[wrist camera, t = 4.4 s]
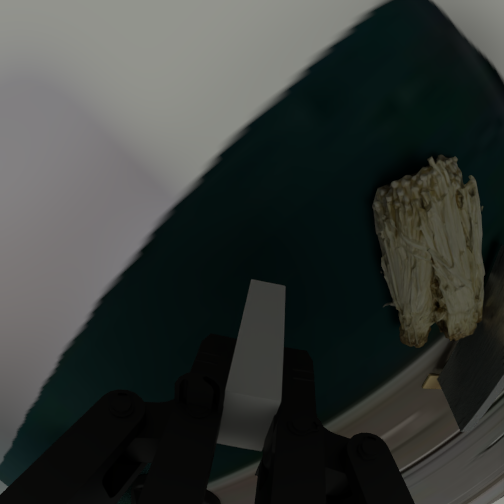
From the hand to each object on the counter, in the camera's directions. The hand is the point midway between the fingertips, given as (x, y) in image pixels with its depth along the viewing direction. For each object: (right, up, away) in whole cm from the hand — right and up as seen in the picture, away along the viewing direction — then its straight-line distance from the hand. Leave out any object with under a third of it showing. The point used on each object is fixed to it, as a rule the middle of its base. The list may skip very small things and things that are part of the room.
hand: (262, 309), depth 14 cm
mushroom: (+13, +3, +8) cm, 16 cm away
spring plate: (+23, -4, +8) cm, 25 cm away
